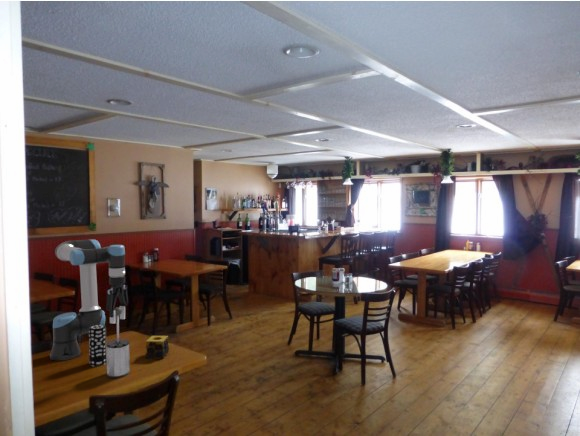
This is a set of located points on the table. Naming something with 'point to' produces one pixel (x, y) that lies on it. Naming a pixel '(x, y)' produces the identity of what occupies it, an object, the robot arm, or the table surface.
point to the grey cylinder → (118, 358)
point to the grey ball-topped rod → (118, 312)
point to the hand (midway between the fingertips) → (117, 321)
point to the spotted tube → (97, 345)
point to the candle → (157, 347)
